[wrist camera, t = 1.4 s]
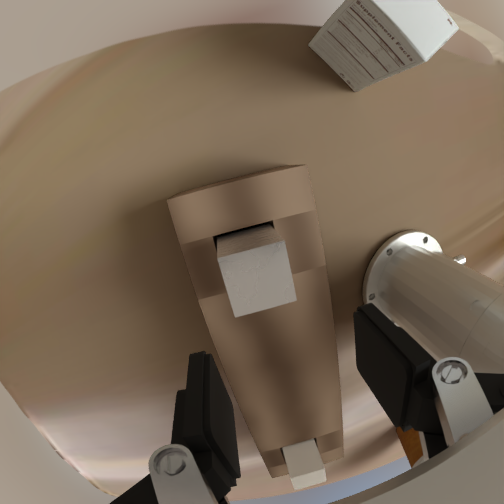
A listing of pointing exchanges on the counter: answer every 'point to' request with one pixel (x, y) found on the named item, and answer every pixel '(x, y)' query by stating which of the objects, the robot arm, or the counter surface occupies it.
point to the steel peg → (255, 269)
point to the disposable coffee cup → (411, 446)
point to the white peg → (304, 464)
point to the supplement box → (381, 38)
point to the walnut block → (269, 311)
